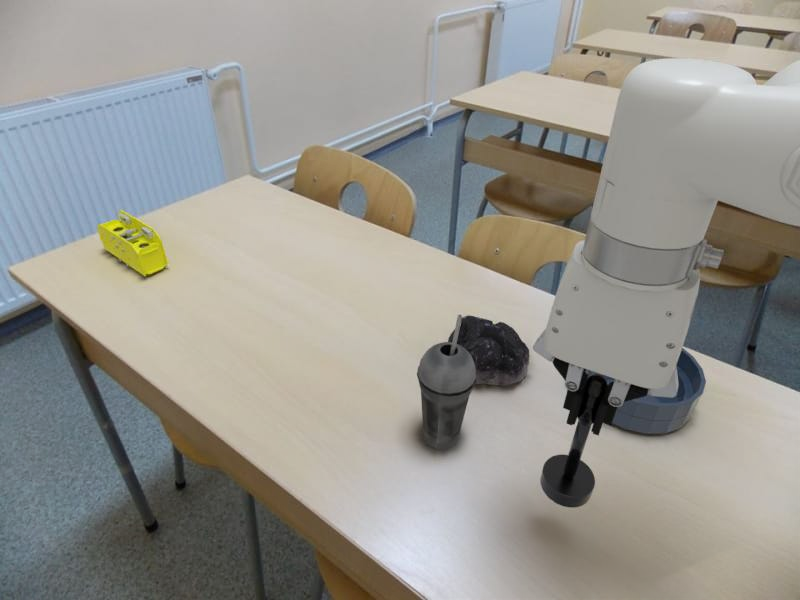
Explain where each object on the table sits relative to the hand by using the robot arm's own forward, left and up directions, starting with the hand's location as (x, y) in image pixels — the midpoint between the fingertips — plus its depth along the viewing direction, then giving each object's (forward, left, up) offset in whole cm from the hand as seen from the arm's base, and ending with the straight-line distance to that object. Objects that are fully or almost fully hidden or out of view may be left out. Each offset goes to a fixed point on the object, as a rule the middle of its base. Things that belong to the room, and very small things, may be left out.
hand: (586, 418), depth 48 cm
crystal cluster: (+27, -7, -19) cm, 34 cm away
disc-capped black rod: (0, 0, -10) cm, 10 cm away
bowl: (+14, -24, -19) cm, 33 cm away
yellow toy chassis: (+77, +46, -19) cm, 92 cm away
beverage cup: (+16, +6, -19) cm, 26 cm away
